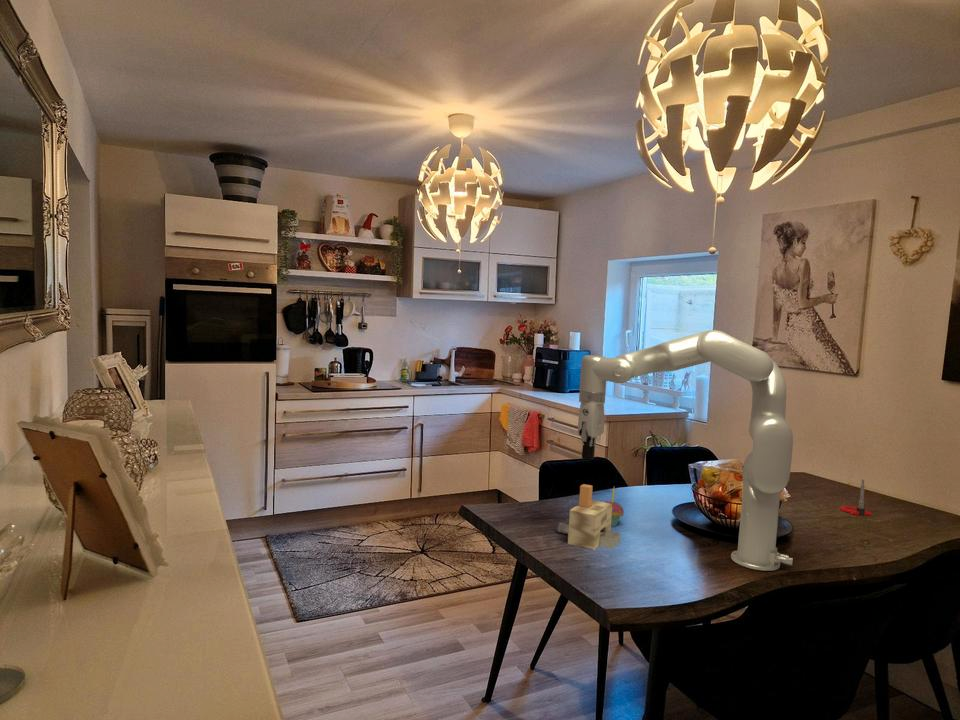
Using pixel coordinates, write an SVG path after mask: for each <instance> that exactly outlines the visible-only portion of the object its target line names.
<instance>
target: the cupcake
mask: <svg viewBox="0 0 960 720" xmlns="http://www.w3.org/2000/svg"><path fill="white" fill-rule="evenodd" d="M615 491H616V489H615V486H613V488H612V495H611V500H610V501H607V500H606V501H604V502H605V503H610V504H612V518H611V527H616V526H617V524H618V523H619V521H620V518H621V517H623V516H624V513H625V512H624V507H622V505H621V504H619V503H618V502H615V501H614V498H615Z"/></svg>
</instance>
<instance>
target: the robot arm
mask: <svg viewBox="0 0 960 720" xmlns="http://www.w3.org/2000/svg"><path fill="white" fill-rule="evenodd" d="M706 363H712V364H714V365H716V366H718V367H720V368H721V369H724V370H727V372H730V373H732V374H734V375H735V376H736V375H737V376H738V377H741V378H743V379H744V380H747V381H749V384H750V386H751V390H752V391H751V392H752V395H751V396H752V398H751V411H750V420H749V427H748V432H749V436H750V438H751V439H752V451H751V452H750V453H748V454H747V456H746V457H745V459H744V460H743V461H744V462H743V465H742V495H741V496H742V497H741V507H740V519H739V530H738V542H737V550H734V551H732V552H731V554H730V558H731V560H732V561H733V562H734V563H736V564H737V565H739V566H741V567H745V568H748V569H752V570H756V571H764V572H767V571H768V572H769V571H777V570H778V569H780V567H781V564H784V565H789V566H793V557H790V556H789V554H784V553H780V552H779V551H778V547H776V546H777V545H776V544H777V533H778V523H779V511H780V502H781V501H780V500H781V492H782V491H783V490H784V489H785V488H786V486H787V485H788V483H789V481H790V477H791V469H792V461H793V460H792V459H793V458H792V457H793V449H794V447H793V446H794V435H793V429H792V427H791V426H790V424H789V423H788V422H787V421H786V412H787V411H786V410H787V385H786V380H785V377H784V374H783V372H782V371H781V368H780V367H779V366H778V364H777V363H776V362H775V361H774V360H773V359H772V357H771V356H770V355H769V354H768V353H767V352H766V351H764V350H761V349H759V348H757V347H755V346H754V345H753V346H752V345H750V344H748V343H746V342H744V341H741V340H739V339H738V338H736V337H734V336H732V335H729V334H728V333H726V332H723V331H722V330H719V329H718V330H717V329H709V330H705V331H703V332H702V331H701V332H698V333H694V334H690V335H688V336H687V335H686V336H683V337H679V338H675V339H672V340H669V341H665V342H661V343H658V344H656V345H653V346H650V347H647V348H643V349H642V348H641V349H638V350H635V351H632V352H628V353H624V354H621V355H620V354H619V355H617V356H616V357H606V356H603V355H597V354H596V355H595V354H588V355H587V354H586V355H584V356H583V357H582V360H581V366H580V367H581V368H580V382H579V393H578V394H579V397H578V402H579V403H580V406H579V413H578V420H577V422H578V423H577V434H578V436H580V442H582V448H581V449H582V450H581V451H582V452H581V454H582V455H581V459H583V460H587V461H588V460H589V461H591V460H592V461H593V460H594V459H595V450H596V449H595V448H596V447H595V446H596V440H597V437H599V436H602V435H603V434H604V433H605V432H604V430H605V404H606V394H607V393H606V392H607V382H611V383H614V384H625V383H627V382H629V381H630V380H631V379H633V378H637V377H641V376H644V375H649V374H653V373H661V372H663V373H665V372H666V373H667V372H668V373H669V372H675V371H679V370H682V369H687V368H691V367H693V366H698V365H702V364H706Z"/></svg>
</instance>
